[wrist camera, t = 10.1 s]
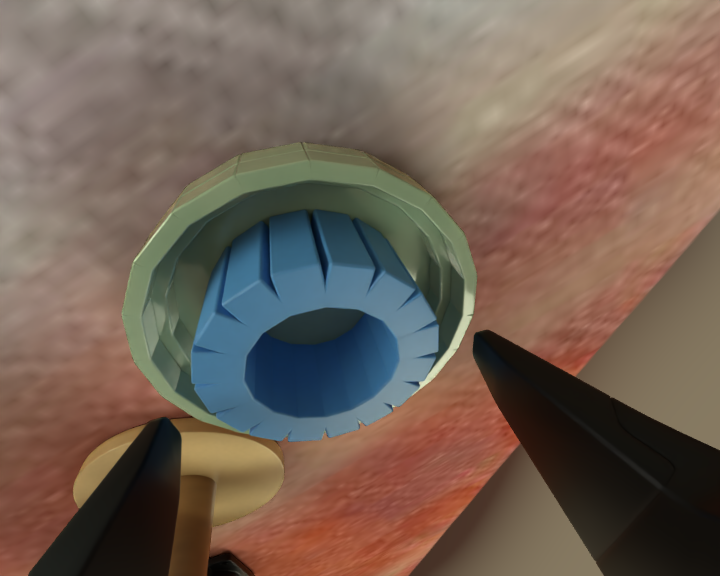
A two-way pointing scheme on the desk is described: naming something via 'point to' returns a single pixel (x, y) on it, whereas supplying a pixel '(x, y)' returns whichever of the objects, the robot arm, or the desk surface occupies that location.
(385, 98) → the desk surface
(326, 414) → the blue gear
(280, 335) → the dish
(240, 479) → the tape holder
